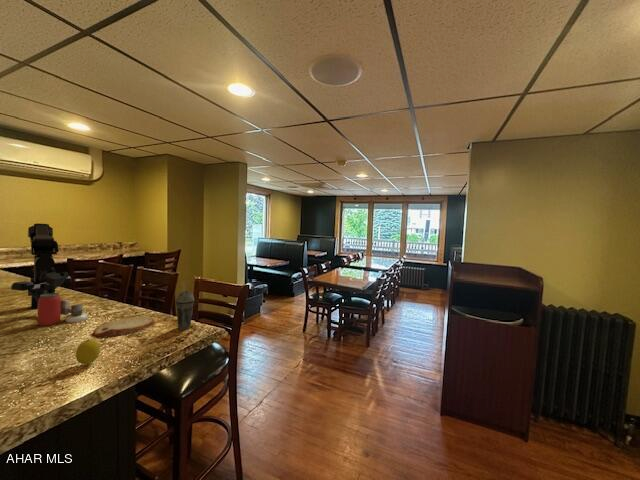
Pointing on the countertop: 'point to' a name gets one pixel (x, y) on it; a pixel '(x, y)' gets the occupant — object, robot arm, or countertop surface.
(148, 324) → the slice of bread
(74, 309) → the lever
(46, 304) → the beer can
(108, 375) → the countertop surface
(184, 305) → the beverage cup
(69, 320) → the lever base
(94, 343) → the lemon
